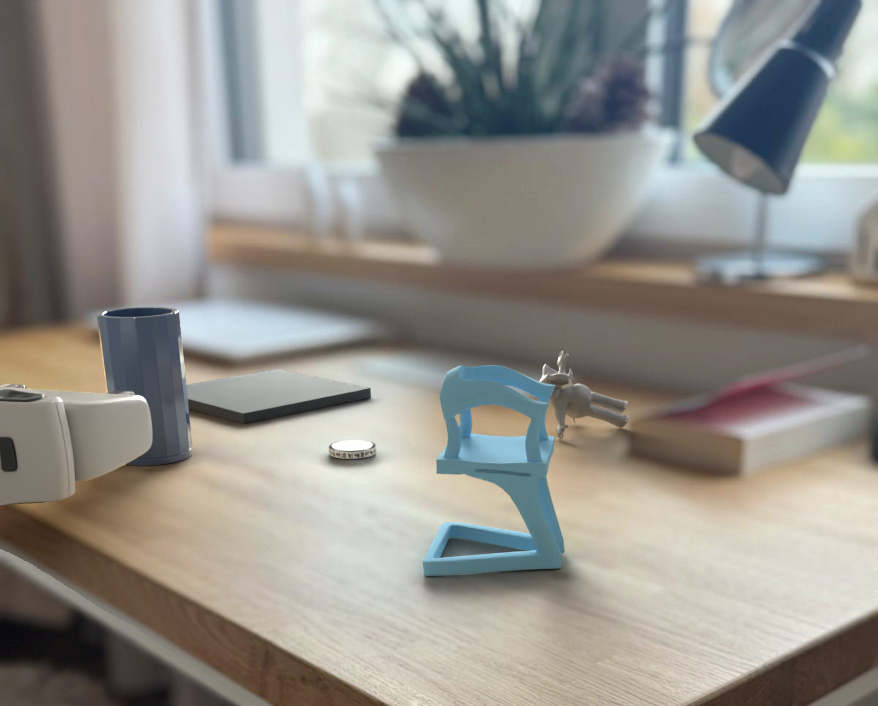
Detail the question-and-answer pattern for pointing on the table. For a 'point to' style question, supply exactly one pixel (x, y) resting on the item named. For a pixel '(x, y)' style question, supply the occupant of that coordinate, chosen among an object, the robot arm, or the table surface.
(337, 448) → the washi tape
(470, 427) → the chair
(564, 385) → the grey figurine
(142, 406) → the robot arm
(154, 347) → the cup
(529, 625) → the table surface
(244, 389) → the mat
